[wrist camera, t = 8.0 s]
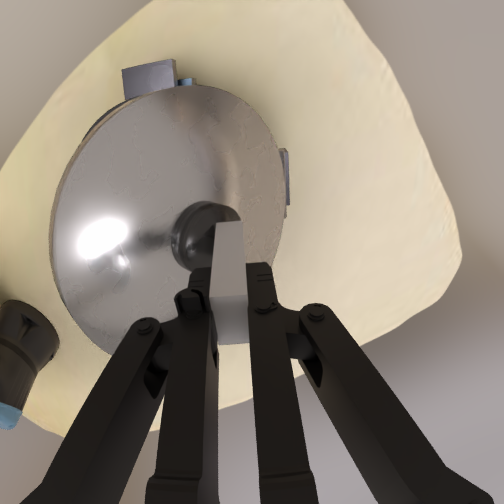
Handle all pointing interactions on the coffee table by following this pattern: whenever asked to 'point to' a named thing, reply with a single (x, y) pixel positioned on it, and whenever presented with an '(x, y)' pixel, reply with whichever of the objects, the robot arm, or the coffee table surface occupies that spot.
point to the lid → (160, 204)
